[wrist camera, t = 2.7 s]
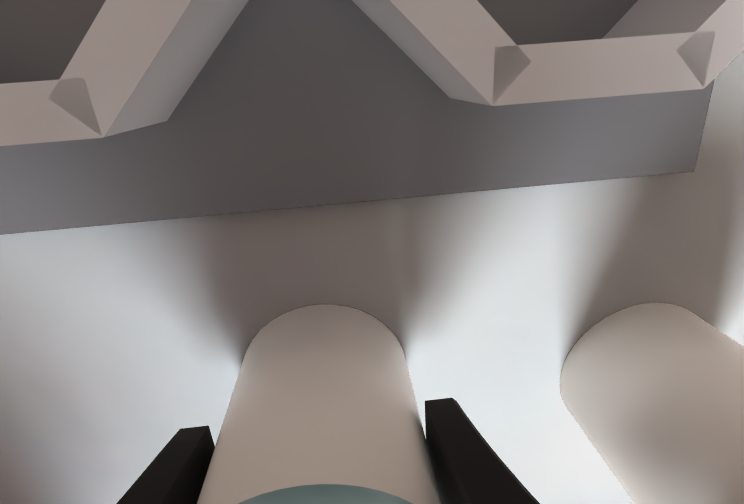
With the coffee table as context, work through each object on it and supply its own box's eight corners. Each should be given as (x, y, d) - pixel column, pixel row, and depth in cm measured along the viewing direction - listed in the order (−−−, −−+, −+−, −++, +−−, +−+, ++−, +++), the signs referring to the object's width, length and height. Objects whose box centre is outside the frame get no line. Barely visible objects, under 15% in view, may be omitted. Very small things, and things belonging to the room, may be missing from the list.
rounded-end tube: (552, 435, 13) (708, 691, 8) (568, 311, 12) (782, 526, 6) (690, 419, 14) (937, 656, 8) (726, 294, 12) (1073, 487, 6)
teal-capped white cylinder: (257, 445, 12) (196, 740, 7) (226, 313, 11) (111, 566, 5) (409, 428, 13) (466, 699, 7) (403, 296, 11) (472, 518, 5)
